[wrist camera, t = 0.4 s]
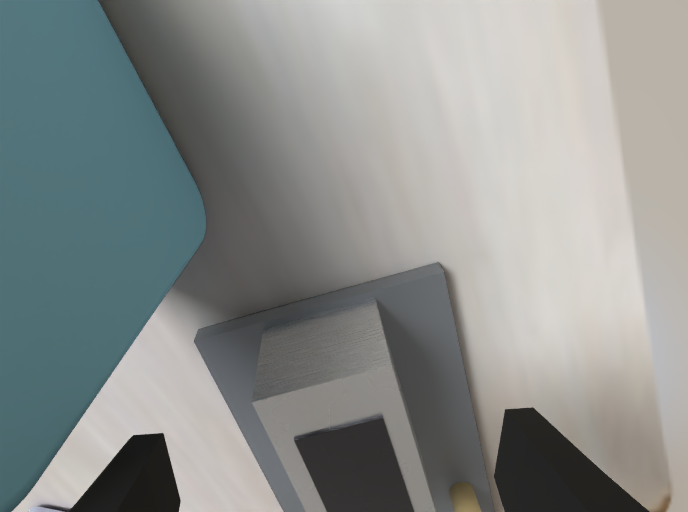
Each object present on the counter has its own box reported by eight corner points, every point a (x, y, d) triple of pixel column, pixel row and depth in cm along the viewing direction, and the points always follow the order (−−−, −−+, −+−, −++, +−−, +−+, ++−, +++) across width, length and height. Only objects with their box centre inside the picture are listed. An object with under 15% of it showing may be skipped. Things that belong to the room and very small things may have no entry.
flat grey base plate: (504, 567, 27) (530, 639, 24) (340, 606, 28) (344, 681, 25) (438, 262, 18) (466, 311, 15) (198, 329, 19) (175, 391, 16)
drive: (417, 441, 21) (440, 527, 18) (323, 465, 22) (325, 555, 18) (375, 297, 18) (392, 366, 14) (263, 328, 18) (251, 404, 14)
